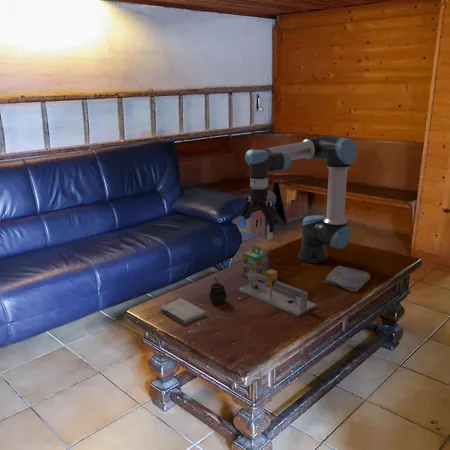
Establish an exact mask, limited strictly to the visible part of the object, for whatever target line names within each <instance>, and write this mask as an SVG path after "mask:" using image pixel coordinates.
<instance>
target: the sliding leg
mask: <svg viewBox="0 0 450 450" xmlns="http://www.w3.org/2000/svg"><path fill="white" fill-rule="evenodd" d="M273 280H276V281H278V271H277V270H274V269H268V271H266V272H265V282H264V284H265V286H266V287H269V288H270V293H272V288H273V287H276V286H273V285H272V281H273Z"/></svg>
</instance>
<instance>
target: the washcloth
mask: <svg viewBox="0 0 450 450" xmlns="http://www.w3.org/2000/svg"><path fill="white" fill-rule="evenodd" d="M159 310H160V311H161V312H162V313H164V315H167V316H168V317H170V318H171V319H173V320H174V321H177V323H180V324H181V325H188V324H190V323H192V322H193V321H196V320H199V319H201V318H203V317H205V316H207V313H206V311H205V310H203V309H201V308H200V307H198V306H197V305H195V304H193V303H191V302H189V301H187V300H186V299H184V298H177V299H176V300H174V301H171V302H167V303H165V304H163V305H160V308H159Z"/></svg>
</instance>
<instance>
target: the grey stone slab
mask: <svg viewBox="0 0 450 450" xmlns="http://www.w3.org/2000/svg"><path fill="white" fill-rule="evenodd" d="M370 279H371V273H370V272H368V271H366V270H365V271H364V270H361V269H357V268H351V267H348V266H343V265H337V266H336V267H334V268H333V269H332V270H331V271H330V272H329V273H328V274H327V276H326V278H325V279H324V280H322V283H323V284H324V283H325V284H328V285H333V286H338V287H340V288H341V289H345V291H348V292H358V291H359V290H360V289H362V287H363V286H364V285H365V284H366V283H368V282H369V281H370Z"/></svg>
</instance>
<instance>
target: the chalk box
mask: <svg viewBox="0 0 450 450" xmlns="http://www.w3.org/2000/svg"><path fill="white" fill-rule="evenodd" d="M241 265H242V268H241V269H242V270H241V274H242V276H243V277H246V278H248V272H250V271H253V272H255V273H258V274H261V275H263V276H265V272H266V271H268V270H269V267H268V266H269V253H267V252H265V251H261V247H260V246H256V245H252V248H251V250H249V251H246V252H243V253H242V264H241Z"/></svg>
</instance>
